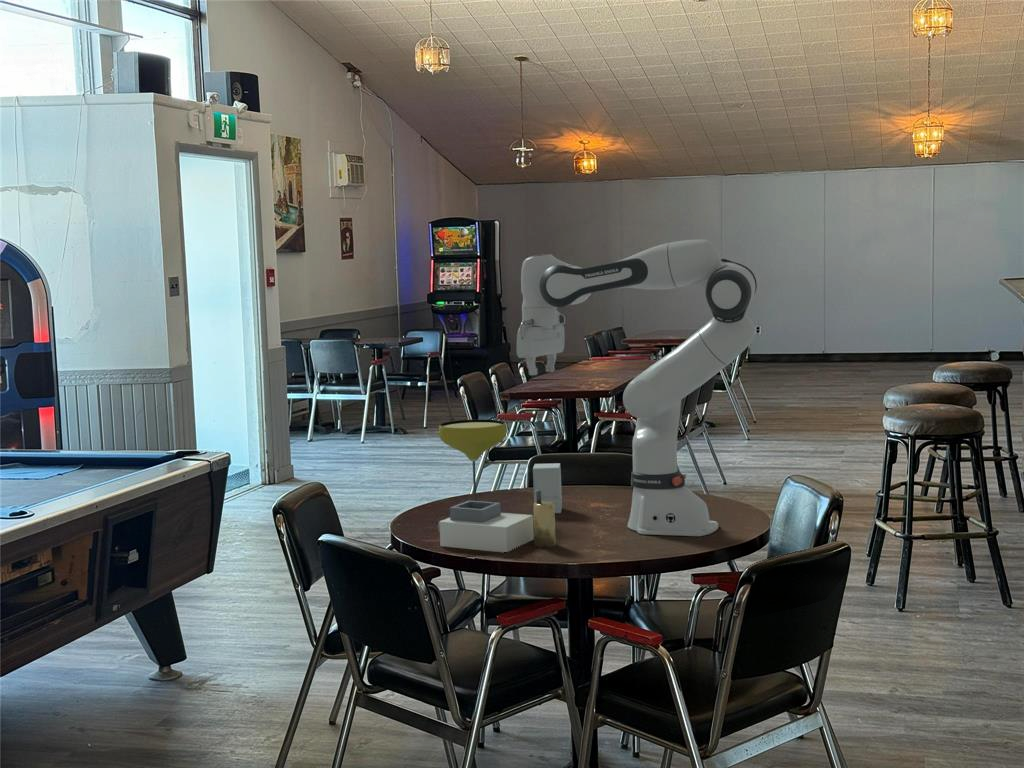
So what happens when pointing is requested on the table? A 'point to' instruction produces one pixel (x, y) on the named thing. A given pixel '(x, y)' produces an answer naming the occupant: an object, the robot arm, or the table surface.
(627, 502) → the table surface
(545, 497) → the supplement box
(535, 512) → the spout can
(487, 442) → the cocktail glass
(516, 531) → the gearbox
